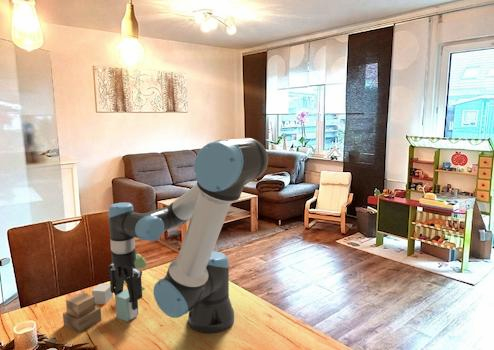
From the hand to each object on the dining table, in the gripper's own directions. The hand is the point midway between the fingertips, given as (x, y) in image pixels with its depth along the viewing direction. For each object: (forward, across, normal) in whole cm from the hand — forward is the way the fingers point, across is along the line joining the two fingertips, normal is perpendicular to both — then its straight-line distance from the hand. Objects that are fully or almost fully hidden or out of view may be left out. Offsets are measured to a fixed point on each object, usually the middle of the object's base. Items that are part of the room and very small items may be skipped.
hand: (127, 315), depth 119 cm
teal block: (0, 0, 0) cm, 0 cm away
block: (0, +16, -3) cm, 16 cm away
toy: (+1, +11, -14) cm, 18 cm away
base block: (+1, +10, +10) cm, 14 cm away
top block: (-4, +10, +10) cm, 15 cm away
